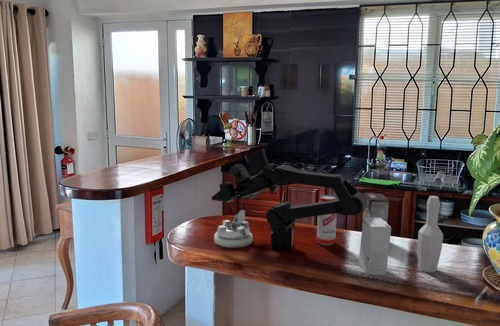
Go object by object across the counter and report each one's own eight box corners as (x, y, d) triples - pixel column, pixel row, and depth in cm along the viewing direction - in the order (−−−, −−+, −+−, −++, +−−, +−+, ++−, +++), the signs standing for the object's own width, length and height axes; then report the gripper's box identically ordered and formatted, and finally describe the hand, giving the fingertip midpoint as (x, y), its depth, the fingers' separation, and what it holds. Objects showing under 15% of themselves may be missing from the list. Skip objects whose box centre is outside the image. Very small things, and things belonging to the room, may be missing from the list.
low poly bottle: (426, 274, 133) (433, 200, 129) (411, 266, 139) (417, 195, 135) (443, 271, 136) (451, 198, 132) (428, 263, 141) (434, 193, 137)
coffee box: (360, 236, 165) (363, 192, 162) (378, 237, 165) (382, 192, 162) (366, 246, 156) (370, 199, 153) (386, 246, 156) (389, 199, 153)
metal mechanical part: (257, 221, 173) (257, 207, 172) (246, 241, 152) (246, 225, 151) (228, 219, 174) (228, 205, 174) (213, 238, 154) (213, 222, 153)
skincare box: (358, 264, 140) (361, 216, 137) (377, 263, 141) (380, 216, 138) (367, 276, 132) (371, 225, 129) (388, 275, 132) (392, 225, 130)
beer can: (338, 244, 156) (341, 198, 153) (322, 247, 154) (324, 200, 151) (328, 238, 162) (331, 194, 159) (313, 240, 160) (315, 195, 157)
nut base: (255, 235, 164) (255, 229, 163) (248, 249, 151) (248, 242, 151) (219, 233, 166) (219, 227, 165) (209, 245, 153) (210, 239, 153)
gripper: (262, 160, 164) (227, 174, 171) (234, 161, 148) (197, 176, 155) (272, 191, 162) (236, 203, 169) (244, 194, 146) (206, 208, 153)
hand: (219, 197), depth 162 cm, fingers open, 9 cm apart
